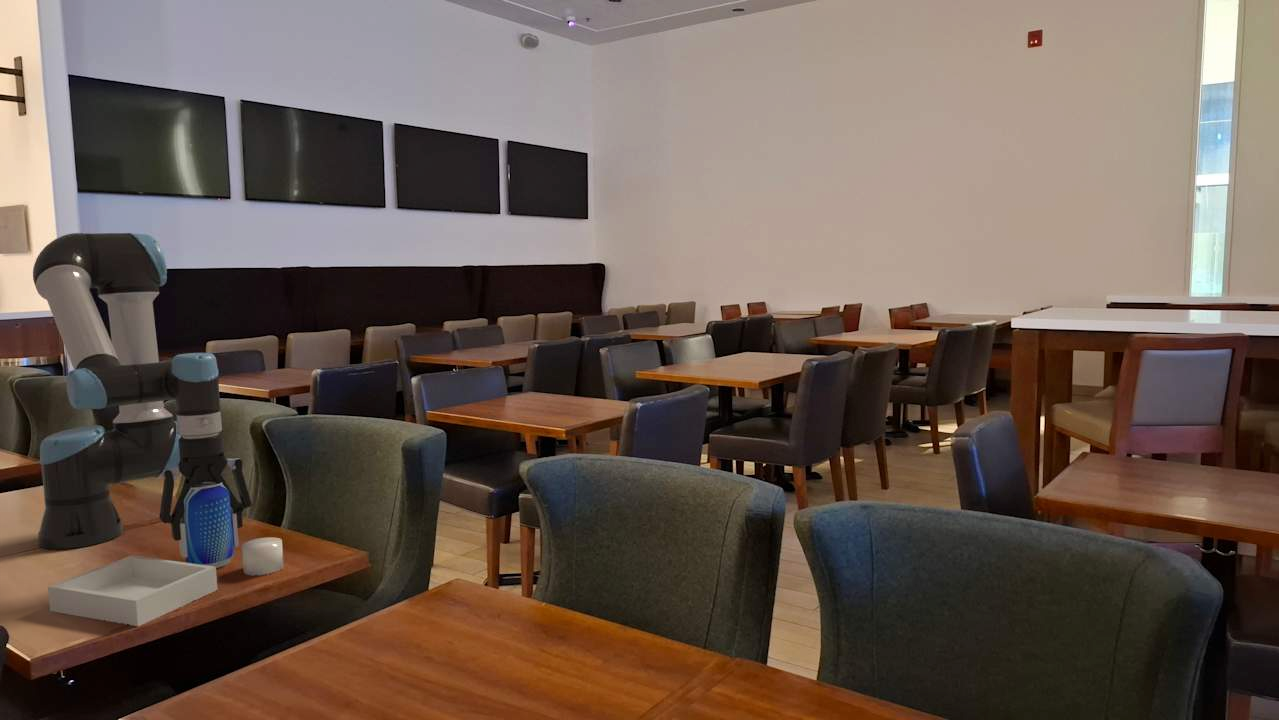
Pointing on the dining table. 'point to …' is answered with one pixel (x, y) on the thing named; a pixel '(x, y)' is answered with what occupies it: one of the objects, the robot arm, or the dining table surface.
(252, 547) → the white pillar candle
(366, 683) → the dining table surface
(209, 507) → the beer can
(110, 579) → the tray
